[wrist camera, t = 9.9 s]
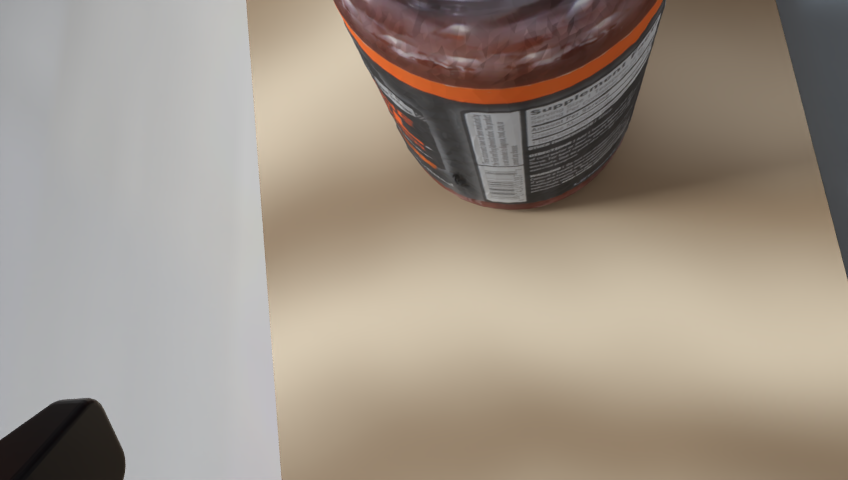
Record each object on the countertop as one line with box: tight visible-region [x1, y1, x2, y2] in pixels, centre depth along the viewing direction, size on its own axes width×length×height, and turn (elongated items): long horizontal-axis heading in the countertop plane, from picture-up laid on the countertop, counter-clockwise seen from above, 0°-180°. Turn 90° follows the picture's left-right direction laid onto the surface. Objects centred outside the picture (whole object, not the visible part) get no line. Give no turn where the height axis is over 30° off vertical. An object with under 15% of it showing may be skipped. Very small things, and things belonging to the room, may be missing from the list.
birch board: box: [246, 0, 848, 480], centre depth 21 cm, size 18×14×1 cm
